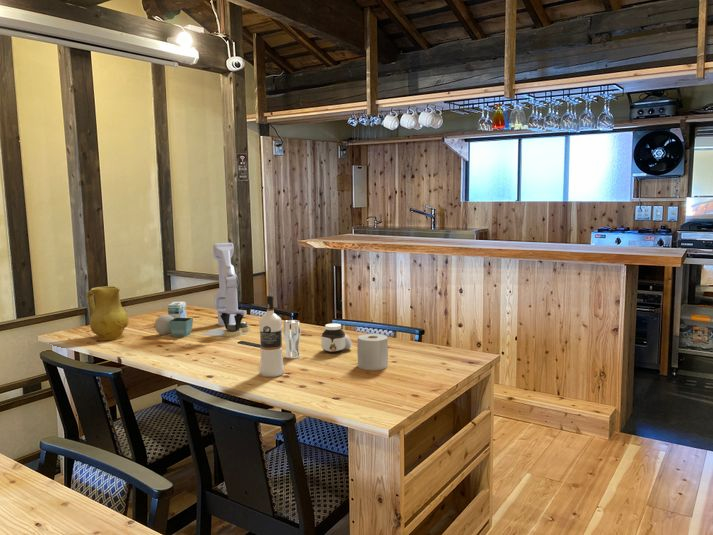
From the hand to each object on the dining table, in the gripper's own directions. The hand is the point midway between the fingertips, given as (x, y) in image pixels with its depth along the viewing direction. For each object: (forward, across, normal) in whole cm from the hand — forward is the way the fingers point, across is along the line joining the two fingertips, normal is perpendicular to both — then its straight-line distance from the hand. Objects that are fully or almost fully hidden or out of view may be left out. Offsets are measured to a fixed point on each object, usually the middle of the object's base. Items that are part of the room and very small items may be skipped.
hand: (232, 328), depth 276 cm
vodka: (+4, +44, -49) cm, 66 cm away
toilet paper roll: (+4, +78, -29) cm, 83 cm away
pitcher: (+4, -58, -16) cm, 60 cm away
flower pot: (+4, -23, -8) cm, 25 cm away
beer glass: (+4, +42, -25) cm, 49 cm away
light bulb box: (+4, -45, +21) cm, 50 cm away
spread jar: (+4, +57, -11) cm, 58 cm away
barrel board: (+4, -5, +3) cm, 7 cm away
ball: (+4, -34, -5) cm, 35 cm away
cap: (+2, 0, 0) cm, 2 cm away
